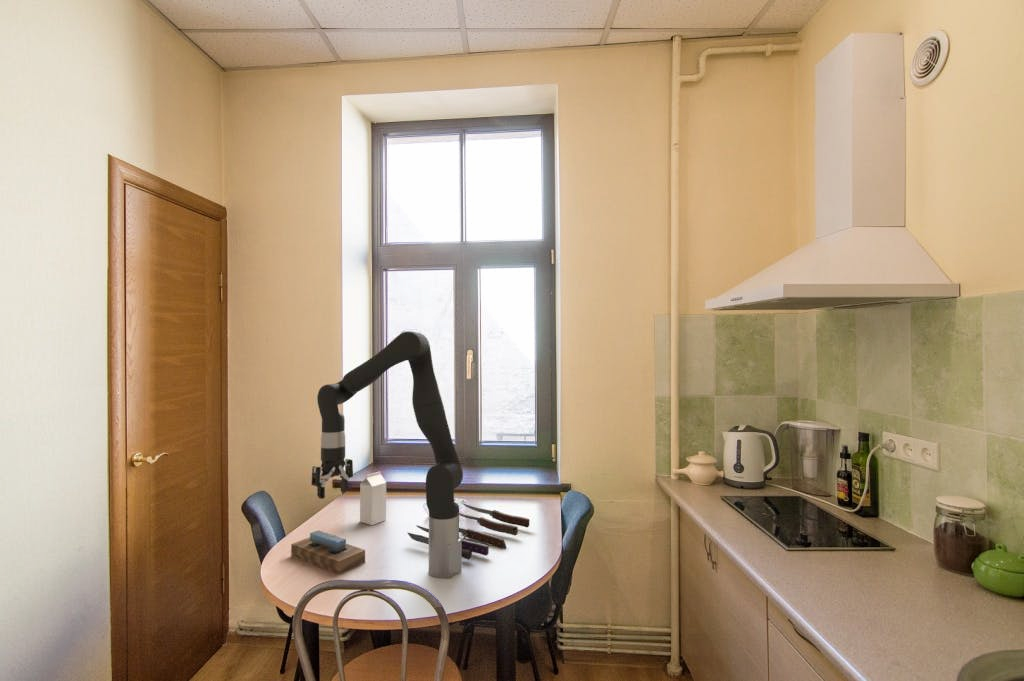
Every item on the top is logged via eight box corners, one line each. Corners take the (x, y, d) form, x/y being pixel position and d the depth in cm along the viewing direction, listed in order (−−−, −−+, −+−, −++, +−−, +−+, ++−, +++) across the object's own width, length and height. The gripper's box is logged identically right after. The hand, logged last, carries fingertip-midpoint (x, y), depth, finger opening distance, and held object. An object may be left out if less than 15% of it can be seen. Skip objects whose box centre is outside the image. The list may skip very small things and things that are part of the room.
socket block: (365, 562, 153) (365, 549, 153) (338, 574, 145) (338, 561, 145) (317, 546, 166) (318, 534, 166) (291, 556, 158) (291, 544, 158)
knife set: (461, 512, 198) (461, 494, 197) (531, 532, 181) (531, 512, 180) (399, 543, 168) (400, 521, 167) (477, 571, 151) (477, 546, 150)
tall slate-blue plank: (345, 563, 153) (345, 539, 153) (337, 566, 151) (337, 542, 151) (317, 553, 161) (318, 530, 161) (309, 556, 158) (310, 533, 158)
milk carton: (386, 520, 192) (386, 472, 192) (371, 525, 186) (372, 476, 186) (374, 517, 196) (374, 469, 196) (359, 522, 190) (360, 473, 190)
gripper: (321, 449, 149) (321, 502, 149) (358, 442, 161) (358, 491, 161) (306, 447, 153) (306, 498, 153) (343, 440, 165) (343, 488, 165)
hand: (332, 494), depth 157 cm, fingers open, 8 cm apart
